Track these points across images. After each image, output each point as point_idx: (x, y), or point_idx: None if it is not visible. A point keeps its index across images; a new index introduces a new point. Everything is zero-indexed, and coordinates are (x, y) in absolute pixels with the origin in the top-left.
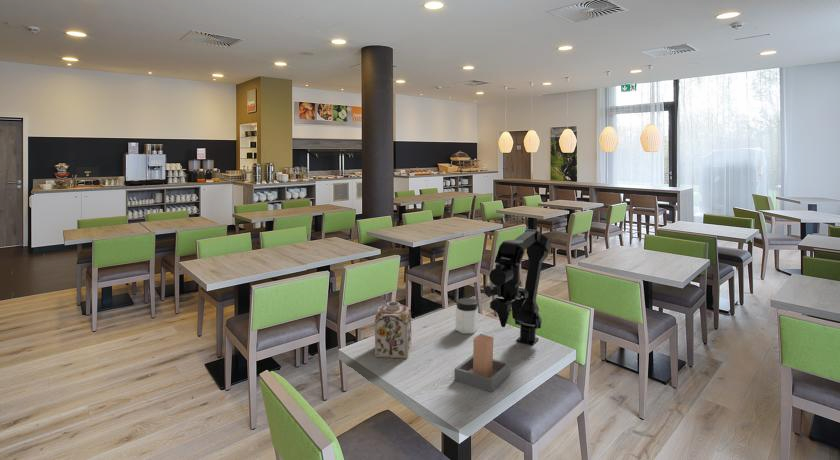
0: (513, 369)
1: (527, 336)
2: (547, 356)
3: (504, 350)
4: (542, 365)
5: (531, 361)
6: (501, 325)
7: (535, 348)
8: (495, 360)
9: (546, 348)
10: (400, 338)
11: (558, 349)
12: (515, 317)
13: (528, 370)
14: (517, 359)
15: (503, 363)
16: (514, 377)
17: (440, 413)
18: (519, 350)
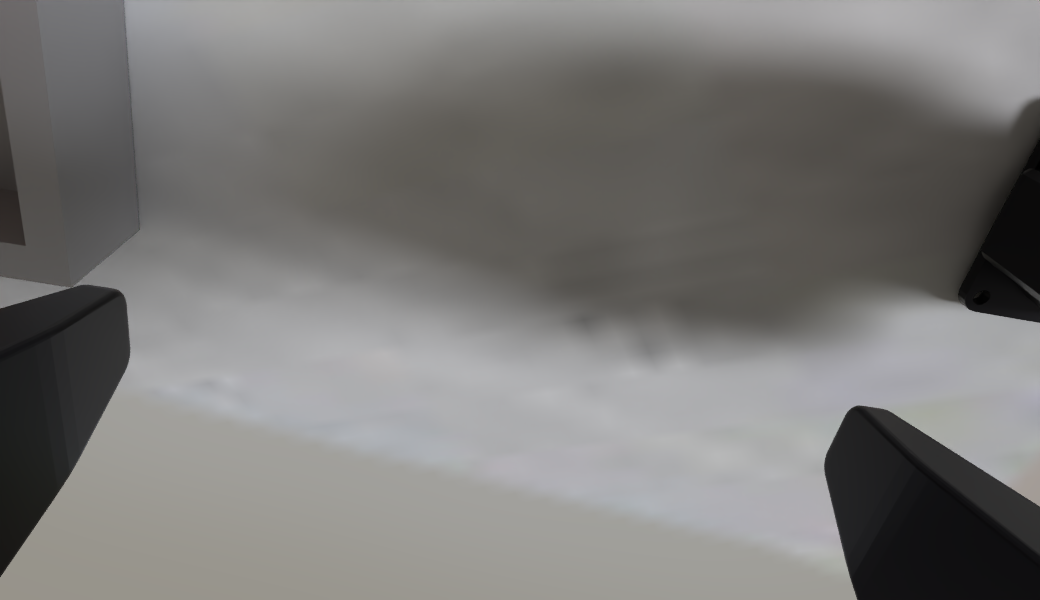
0: (276, 235)
1: (1032, 292)
2: (710, 456)
3: (728, 17)
4: (501, 446)
5: (543, 354)
6: (51, 304)
7: (877, 337)
8: (20, 92)
9: None
10: None
11: None
12: (837, 494)
13: (338, 362)
14: (530, 223)
15: (21, 211)
16: (120, 279)
17: None
18: (780, 194)
